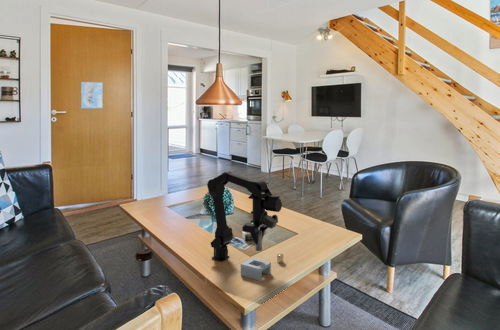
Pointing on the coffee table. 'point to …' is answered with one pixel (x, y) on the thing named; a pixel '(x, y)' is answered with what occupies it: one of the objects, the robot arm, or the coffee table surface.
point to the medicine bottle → (247, 235)
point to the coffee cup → (144, 254)
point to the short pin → (279, 258)
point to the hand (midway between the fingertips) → (258, 243)
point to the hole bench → (255, 268)
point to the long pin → (259, 243)
